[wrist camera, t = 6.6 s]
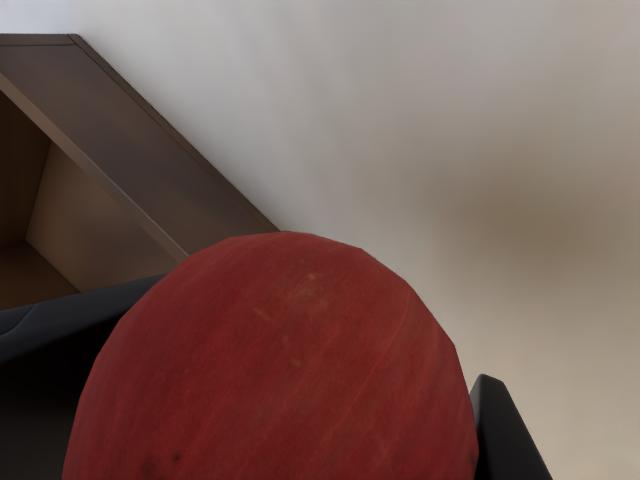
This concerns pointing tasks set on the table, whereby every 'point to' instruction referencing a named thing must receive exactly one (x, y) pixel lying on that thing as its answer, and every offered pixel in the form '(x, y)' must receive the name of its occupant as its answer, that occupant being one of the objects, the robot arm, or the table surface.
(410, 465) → the onion
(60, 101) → the open wooden box
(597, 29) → the table surface
